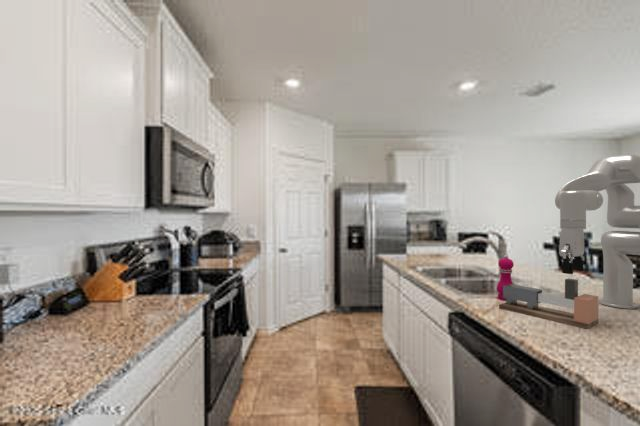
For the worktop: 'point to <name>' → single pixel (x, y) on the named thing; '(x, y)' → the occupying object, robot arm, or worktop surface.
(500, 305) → the base board
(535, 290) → the outer sleeve
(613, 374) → the worktop surface
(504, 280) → the pepper mill
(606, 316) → the worktop surface
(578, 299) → the socket block
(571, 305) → the tube
